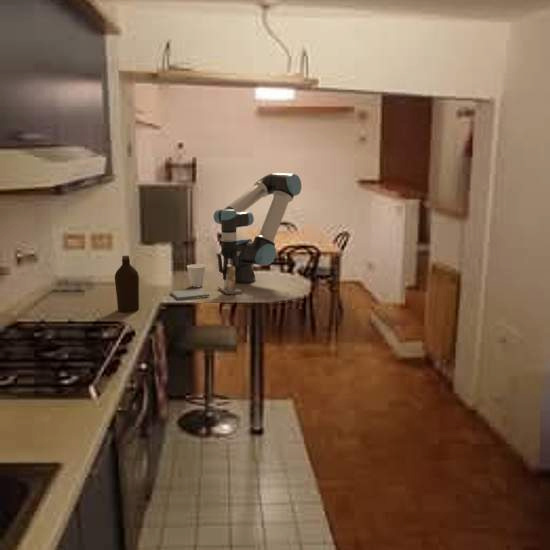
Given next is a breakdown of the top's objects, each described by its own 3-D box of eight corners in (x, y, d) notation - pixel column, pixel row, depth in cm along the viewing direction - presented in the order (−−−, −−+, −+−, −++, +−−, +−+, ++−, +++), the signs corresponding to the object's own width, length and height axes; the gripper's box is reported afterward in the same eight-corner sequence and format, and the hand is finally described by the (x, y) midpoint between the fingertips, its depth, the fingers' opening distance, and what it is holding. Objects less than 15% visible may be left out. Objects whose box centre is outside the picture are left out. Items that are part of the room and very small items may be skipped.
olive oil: (137, 313, 277) (134, 258, 272) (113, 313, 277) (110, 258, 272) (142, 307, 287) (140, 254, 282) (120, 306, 288) (117, 253, 282)
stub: (232, 287, 325) (232, 262, 322) (242, 293, 312) (241, 267, 310) (218, 288, 322) (217, 263, 319) (227, 294, 309) (226, 268, 306)
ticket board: (201, 290, 318) (200, 287, 318) (209, 297, 306) (209, 293, 305) (170, 294, 312) (170, 290, 311) (177, 300, 299) (177, 297, 299)
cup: (207, 284, 333) (207, 264, 330) (203, 288, 323) (203, 268, 321) (189, 284, 334) (189, 264, 331) (185, 288, 324) (184, 267, 322)
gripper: (241, 238, 318) (242, 282, 323) (211, 240, 312) (212, 285, 317) (246, 240, 311) (247, 285, 316) (216, 242, 305) (217, 288, 310)
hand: (229, 285), depth 316 cm, fingers closed on stub, 3 cm apart
